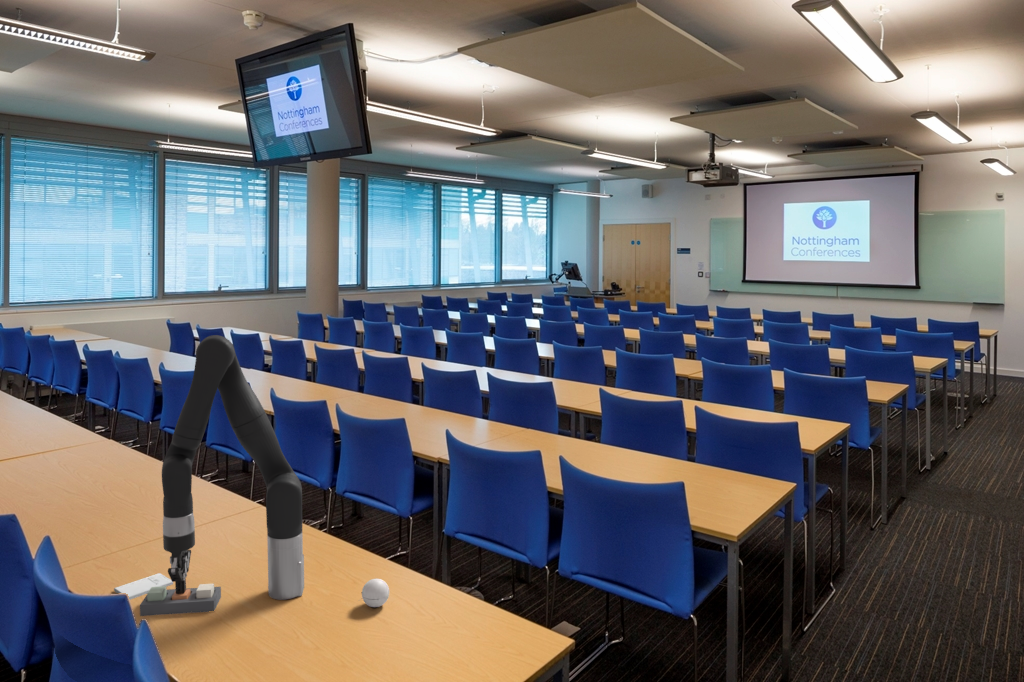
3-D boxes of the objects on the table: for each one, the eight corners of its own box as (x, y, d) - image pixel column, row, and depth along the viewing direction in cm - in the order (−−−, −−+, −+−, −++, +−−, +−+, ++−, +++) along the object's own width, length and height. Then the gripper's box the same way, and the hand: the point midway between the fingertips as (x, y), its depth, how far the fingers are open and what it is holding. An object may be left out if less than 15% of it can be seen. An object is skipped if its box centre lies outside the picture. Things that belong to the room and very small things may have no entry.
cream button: (214, 595, 190) (213, 583, 189) (211, 601, 186) (210, 589, 186) (200, 596, 189) (199, 584, 189) (196, 602, 186) (196, 590, 185)
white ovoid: (379, 596, 195) (379, 571, 194) (394, 606, 190) (394, 580, 189) (347, 608, 188) (347, 582, 187) (362, 619, 183) (362, 592, 182)
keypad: (221, 596, 192) (220, 586, 192) (214, 611, 185) (213, 600, 184) (150, 601, 189) (149, 590, 189) (140, 616, 181) (139, 605, 181)
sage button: (166, 598, 188) (166, 586, 187) (162, 604, 184) (162, 592, 184) (152, 599, 187) (151, 587, 187) (147, 605, 184) (147, 593, 183)
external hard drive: (114, 593, 194) (159, 577, 204) (127, 602, 189) (173, 586, 199) (113, 587, 194) (159, 572, 204) (127, 596, 189) (173, 580, 199)
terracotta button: (190, 601, 189) (190, 589, 189) (187, 607, 185) (186, 595, 185) (176, 601, 188) (176, 589, 188) (172, 608, 185) (172, 596, 184)
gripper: (187, 539, 179) (189, 604, 181) (200, 520, 191) (202, 580, 194) (155, 540, 177) (157, 605, 179) (171, 521, 190) (173, 582, 192)
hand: (180, 592), depth 186 cm, fingers closed
